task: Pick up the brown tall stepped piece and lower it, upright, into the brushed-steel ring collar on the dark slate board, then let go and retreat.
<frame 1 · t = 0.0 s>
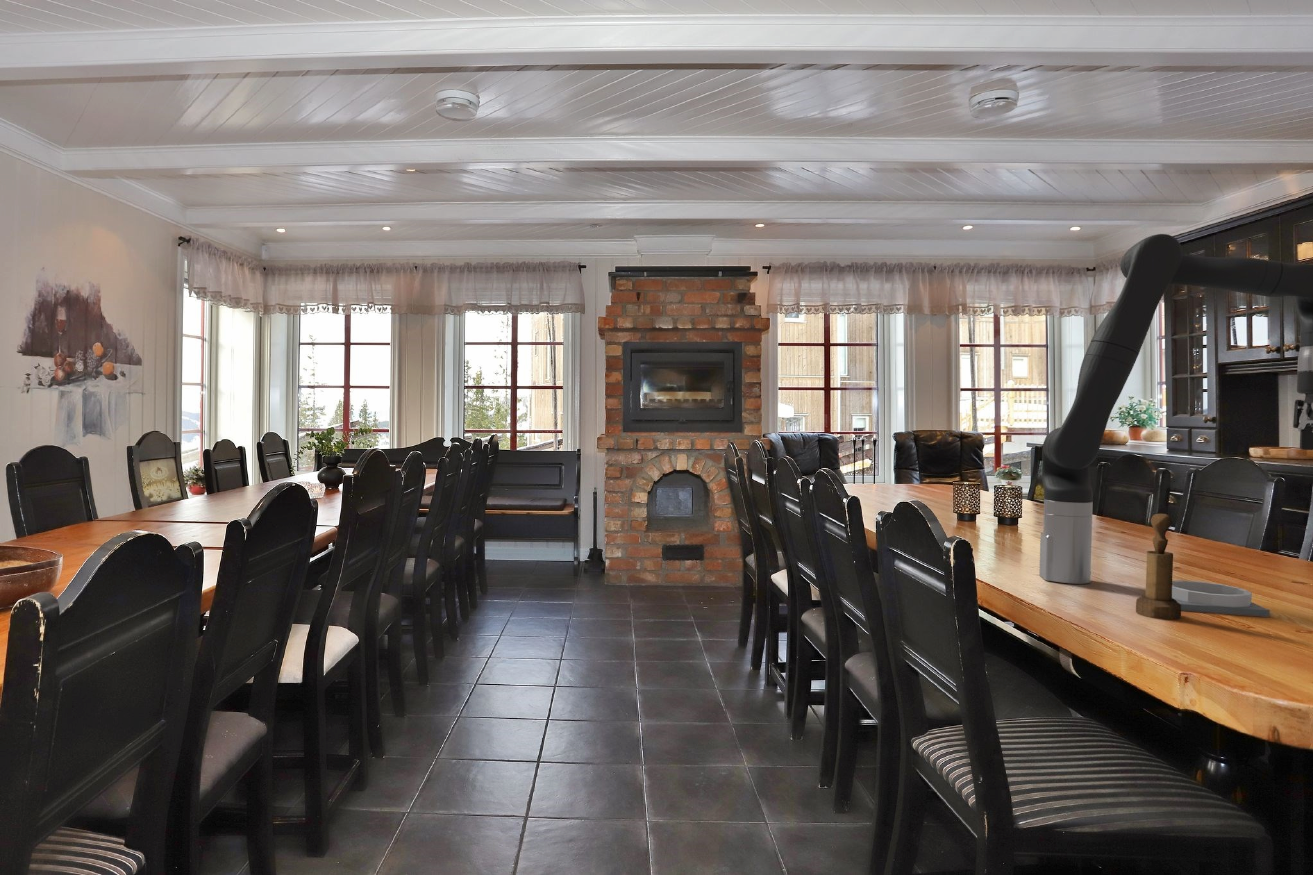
ring board: (1206, 604, 140), on the table
brown tall stepped piece: (1157, 615, 132), on the table
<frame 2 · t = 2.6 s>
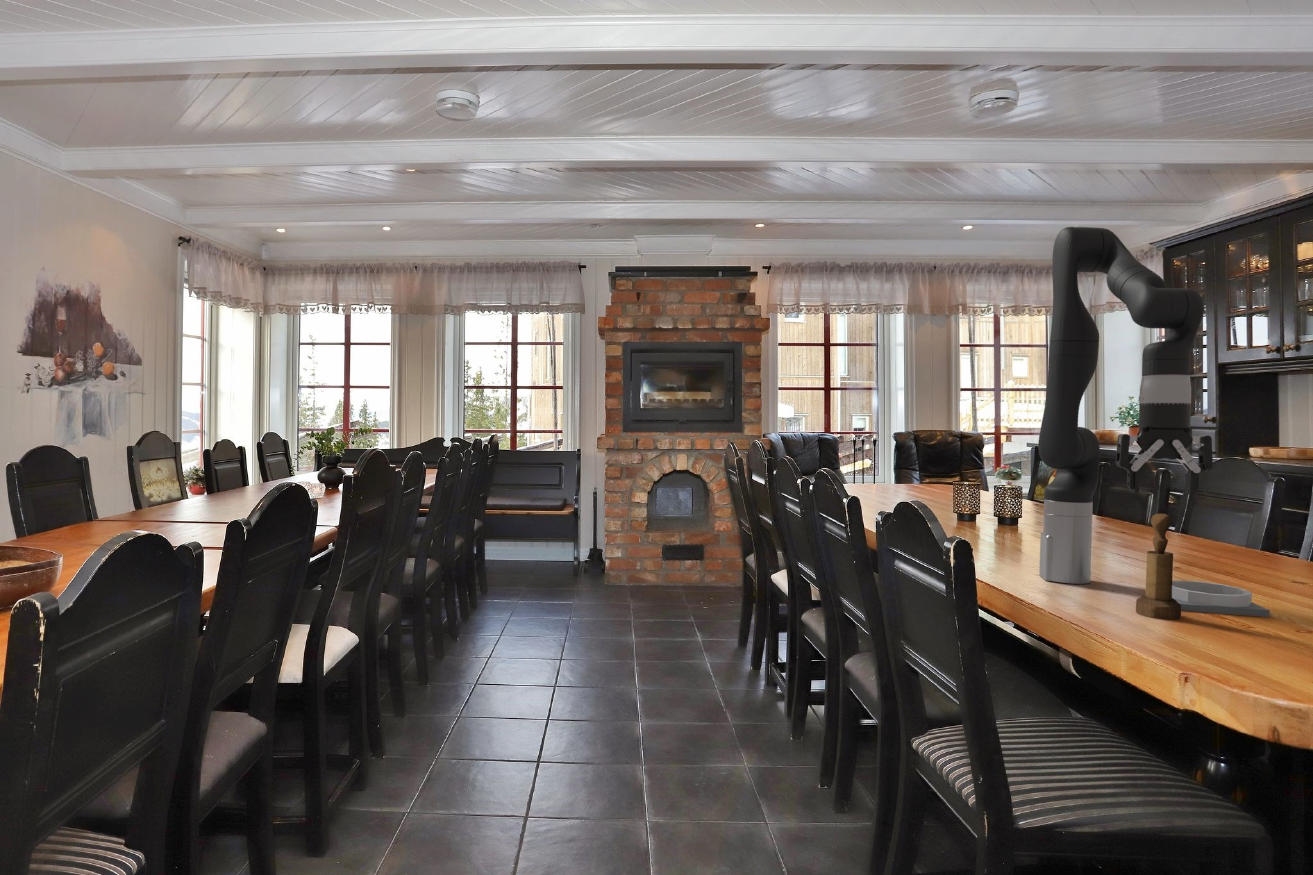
hand: (1162, 493, 131), 22 cm above the table, fingers open, 8 cm apart
nothing on the table moved.
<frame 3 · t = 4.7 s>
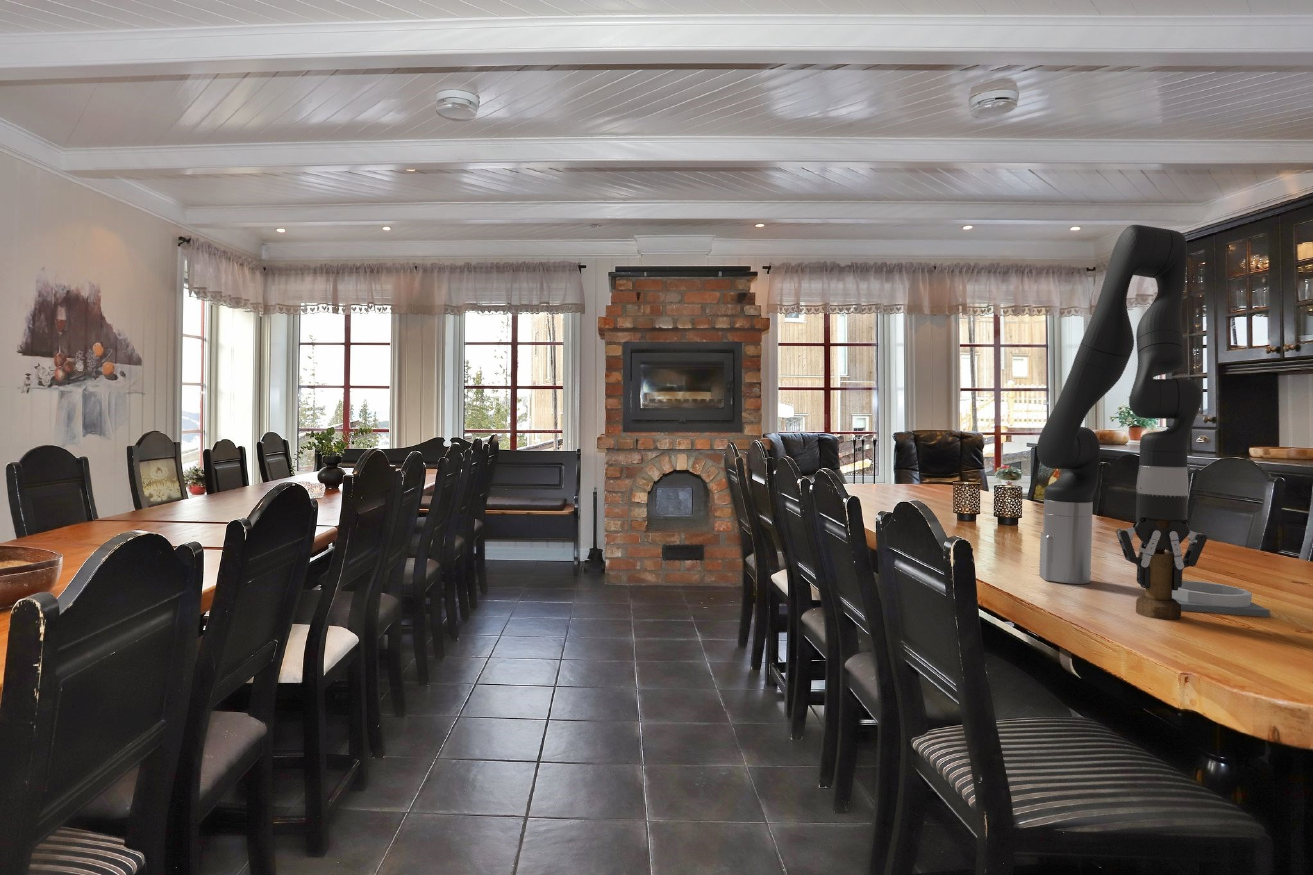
hand: (1159, 588, 132), 5 cm above the table, fingers closed on brown tall stepped piece, 4 cm apart
brown tall stepped piece: (1158, 615, 132), on the table, touching gripper
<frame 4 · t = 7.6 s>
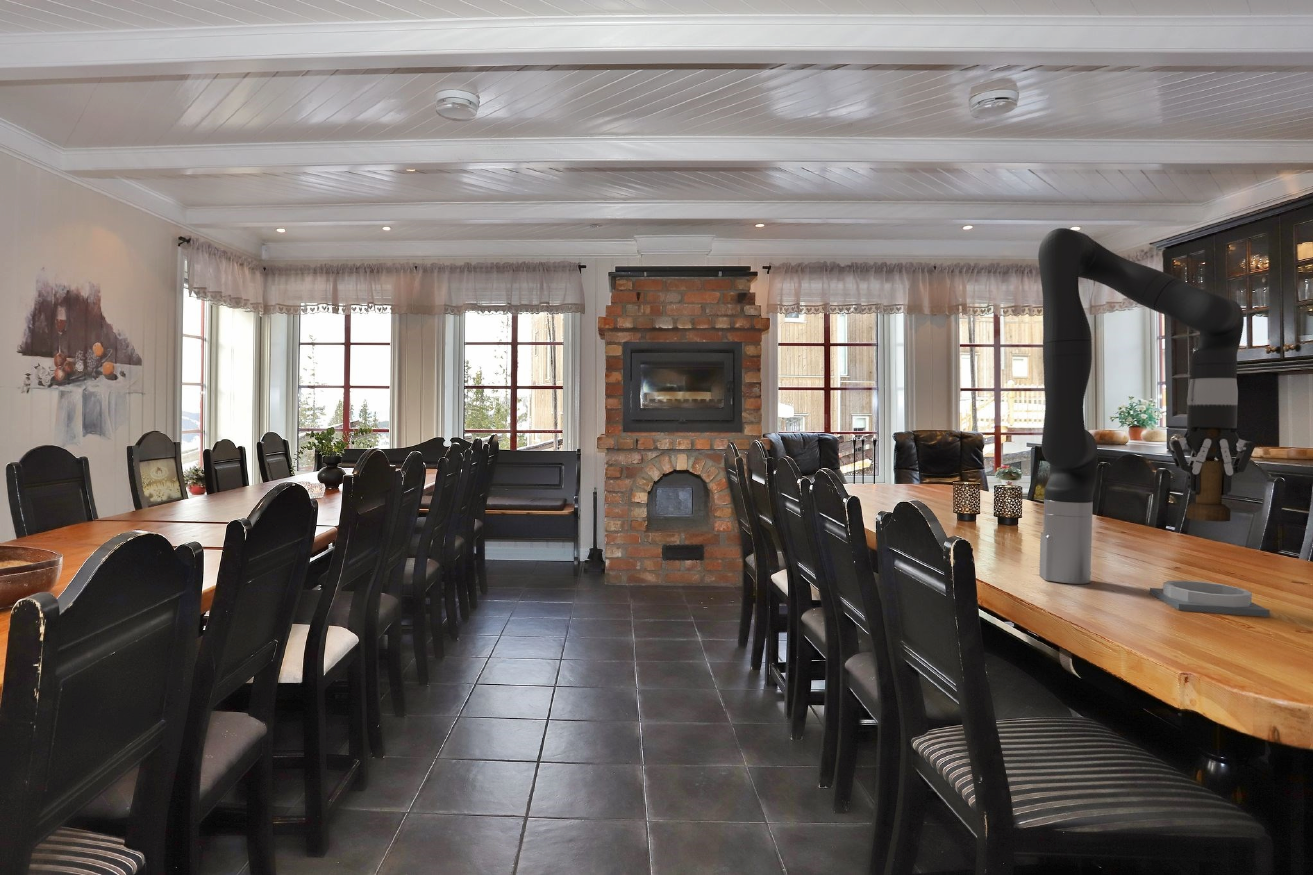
hand: (1208, 494, 140), 21 cm above the table, fingers closed on brown tall stepped piece, 4 cm apart
brown tall stepped piece: (1207, 520, 140), point 16 cm above the table, touching gripper
when the fingers open (7 cm above the table, at t = 10.8 s): brown tall stepped piece drops 1 cm, resting on ring board.
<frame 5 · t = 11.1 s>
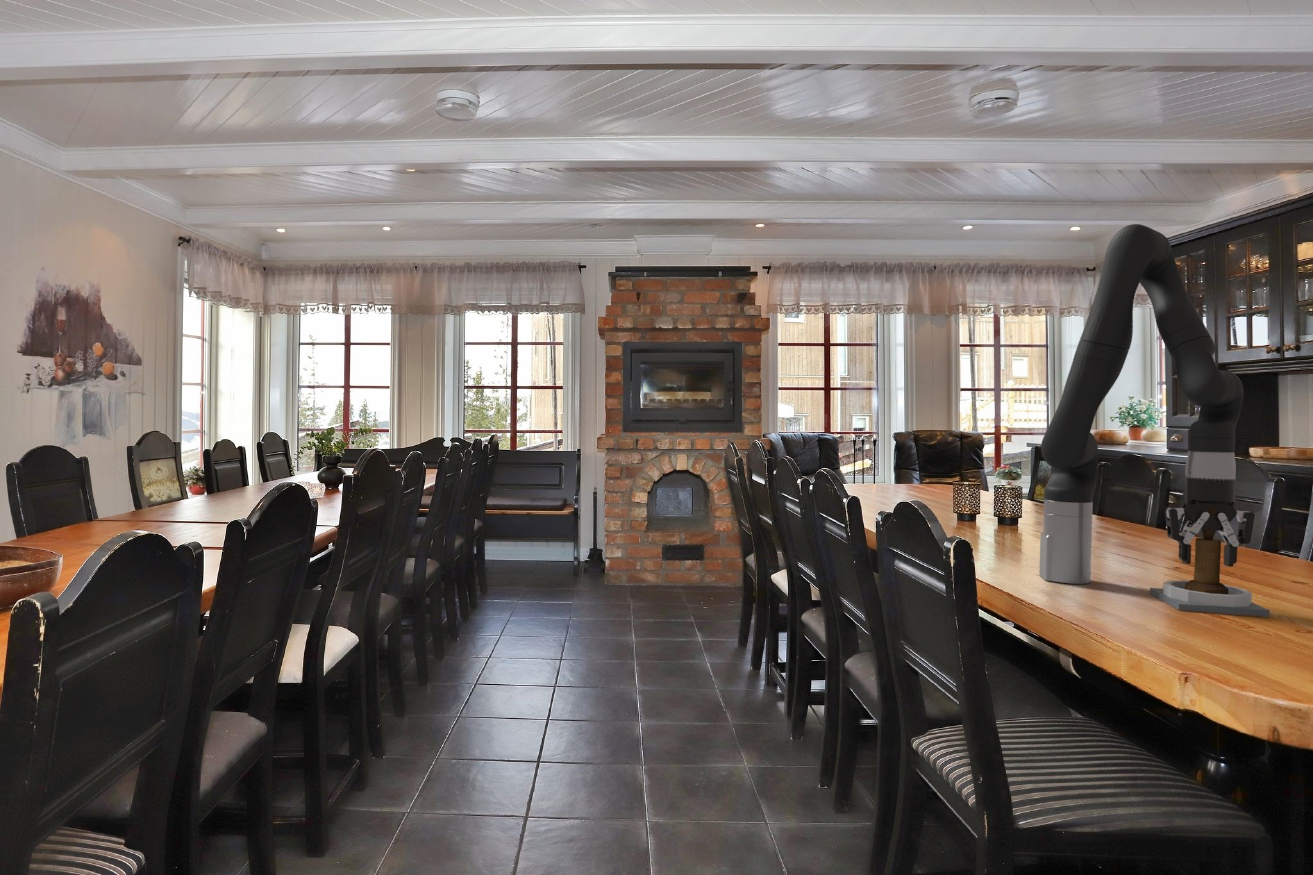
hand: (1207, 564, 140), 8 cm above the table, fingers open, 6 cm apart
brown tall stepped piece: (1205, 599, 140), point 1 cm above the table, touching ring board
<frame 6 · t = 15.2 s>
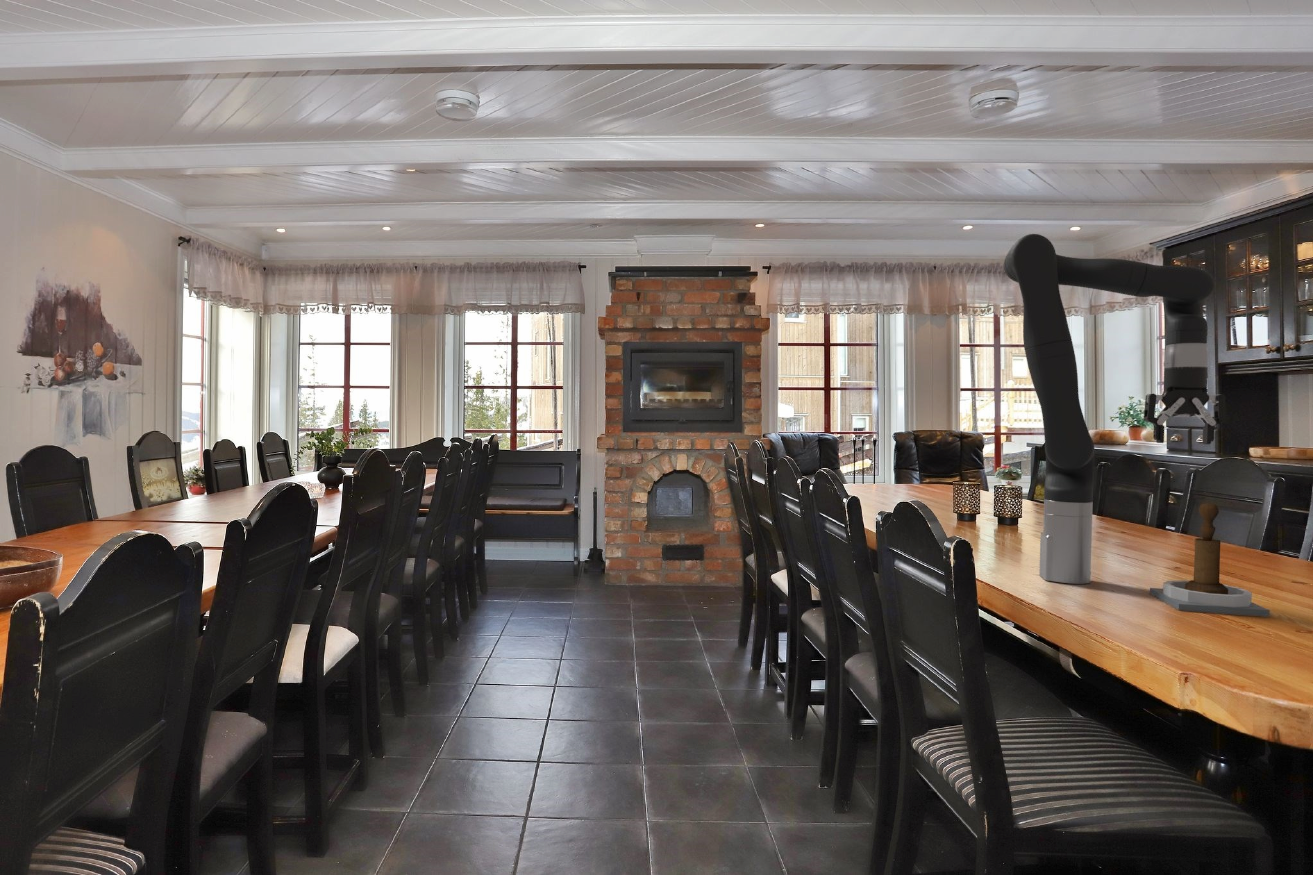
hand: (1183, 443, 156), 30 cm above the table, fingers open, 8 cm apart
nothing on the table moved.
at the end: brown tall stepped piece 0.1 cm off-centre on the ring board, point 1.0 cm above the ring board's base; brown tall stepped piece tilted 0°; the gripper is holding nothing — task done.
